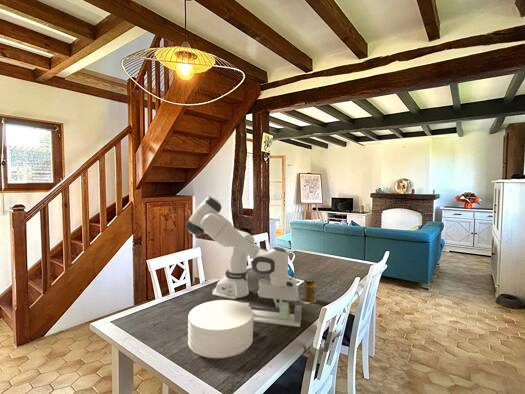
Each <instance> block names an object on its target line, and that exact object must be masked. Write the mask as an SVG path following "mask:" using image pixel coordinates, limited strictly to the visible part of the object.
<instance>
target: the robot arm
mask: <svg viewBox="0 0 525 394" xmlns="http://www.w3.org/2000/svg"><path fill="white" fill-rule="evenodd" d="M221 210H222V204H221V202H220V201H219V200H218V199H217V198H215V197H212V196H207V197H205V198H204V199H203V201H202V202H201V203H200V204H199V205H198V206H197V207H196V208H195V210H194V211H193V212H192V214H191V216H190V217H189V219H187V220H186V223H185V228H186V229H187V231H188V232H189V233H190V234H192V235H194V236H201V235H205V234H207V235H208V236H209V237H210V238H211V239H212V240H214V241H215V242H216V243H217V244H219V245H221V246H223V247H224V248H230V247H231V248H232V250H233V251H232V254H231V255H230V256H229V258H228V268H227V269H226V271H225V273H224V275H225V276H224V277H222V278H221V279H220V280H219V281H217V284H216V286H215V288H214V289H213V290H212V293H211V294H212V295H213V296H217V297H222V298H225V299H226V298H227V299H230V300H235V299H238V298H244V297H247V296H248V295H249V293H250V292H249V287H248V275H249V274H248V268H247V267H248V256H250V258H251V259H252V261H251V268H252V271H253V272H254V273H256V274H258V275H266V274H269V278H261V279H259V280H258V284H257V285H258V290H257V291H258V293H257V295H258V297H259V298H263V299H264V298H266V299H273V302H274V304H275V308H280V304H281V303H282V302H284V301H291V302H297V301H299V300H298V299H300V298H299V296H300V294H299V286H298V285H297V282H298V281H297V279H296V278H293V277H292V276H289V273H288V268H289V254H288V252H287V250H286V249H284V248H282V247H280V246H275V247H272V248H271V249H270V250H269V249H266V248H264V247H259V246H257V245H256V243H255V238H254V236H253V235H252V234H250V233H249V232H246V231H242V230H240V229H237V228H236V227H234V226H233V225H232V222H231V221H229V220H228V219H227V218H225V217H224V216H223V215H222V214H220V212H221ZM277 300H278V301H279V302H278V301H277ZM283 300H284V301H283Z"/></svg>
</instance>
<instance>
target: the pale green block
mask: <svg viewBox="0 0 525 394" xmlns="http://www.w3.org/2000/svg"><path fill="white" fill-rule="evenodd" d="M289 305H290V304H289V302H284V301H282V303H281V304H280V312H279V319H288V308H290V306H289Z"/></svg>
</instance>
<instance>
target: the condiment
mask: <svg viewBox="0 0 525 394" xmlns="http://www.w3.org/2000/svg"><path fill="white" fill-rule="evenodd" d="M297 301H300V302H301V303H303V304H305V305H308V304H311V303H316V302H318V300H317V299H315V280H314V279H312V278H306V279H305V280H304V286H303V297H301V298H298V300H297Z"/></svg>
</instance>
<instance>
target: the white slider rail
mask: <svg viewBox="0 0 525 394" xmlns="http://www.w3.org/2000/svg"><path fill="white" fill-rule="evenodd" d="M243 303H244V304H246V305H248V306H249V307H250V308H251V309H252V310H253V322H258V323H265V324H275V325H282V326H289V327H291V326H292V327H298V328H300V327H301V324H302V305H301V304H300V305H299V304H295V305H294V309H291V308H290V307H289V308H288V319H279V312H280V308H277V307H271V306H270V307H269V306H260V305H252V304H250V302H243Z"/></svg>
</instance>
